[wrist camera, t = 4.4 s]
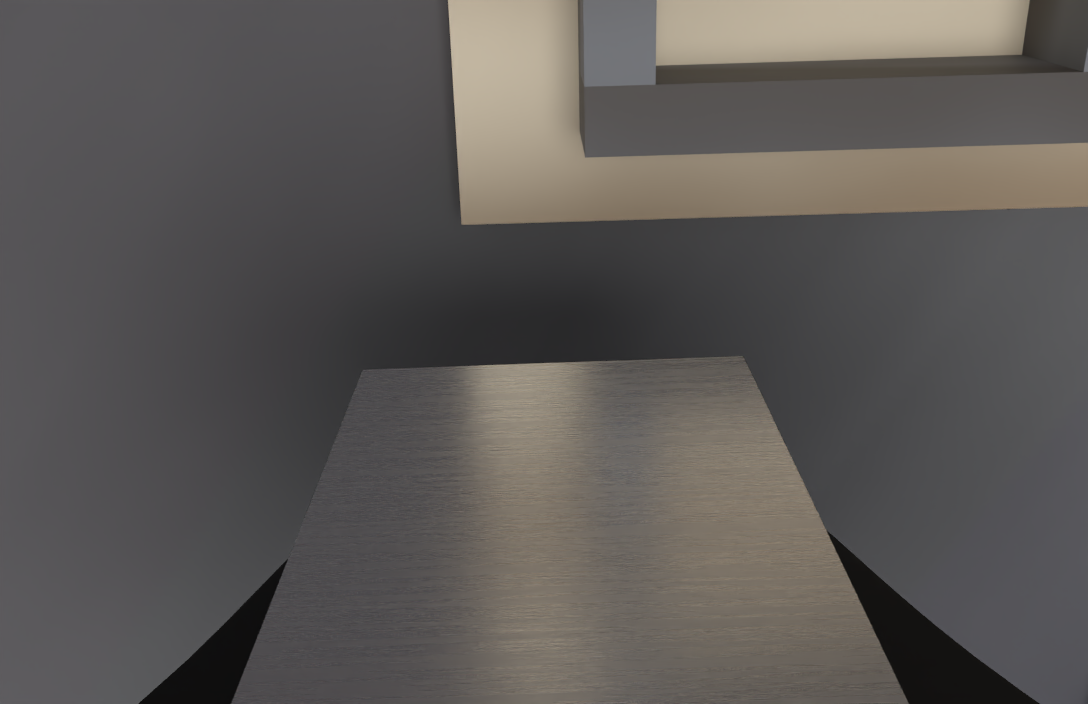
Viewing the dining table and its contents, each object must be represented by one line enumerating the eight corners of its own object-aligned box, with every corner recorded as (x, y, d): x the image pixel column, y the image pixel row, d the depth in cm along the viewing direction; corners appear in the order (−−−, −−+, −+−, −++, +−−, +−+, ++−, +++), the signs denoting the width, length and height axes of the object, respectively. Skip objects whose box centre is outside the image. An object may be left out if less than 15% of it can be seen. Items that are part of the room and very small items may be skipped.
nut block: (731, 664, 14) (858, 1152, 8) (397, 675, 14) (304, 1168, 8) (743, 356, 12) (913, 711, 7) (363, 369, 12) (219, 735, 7)
